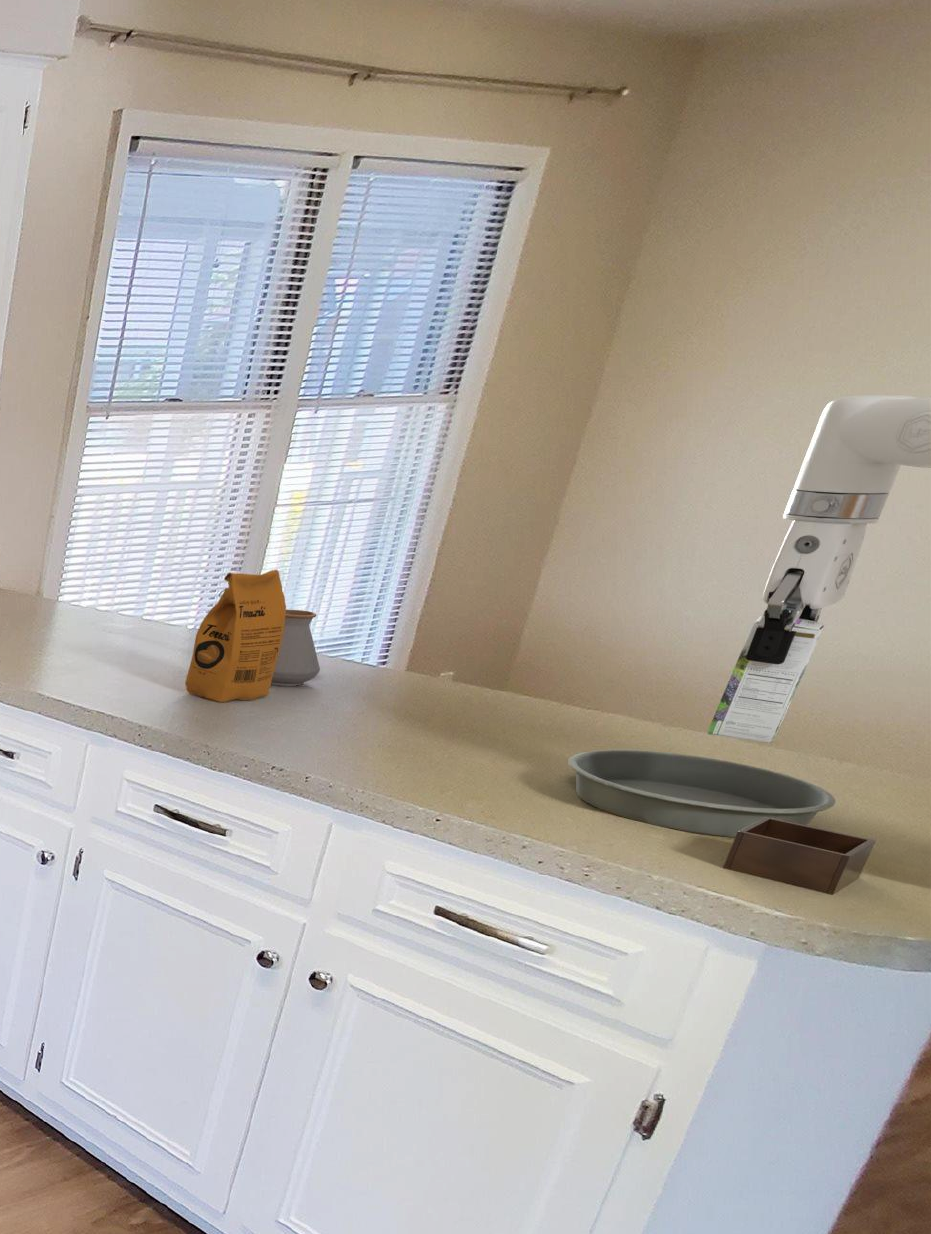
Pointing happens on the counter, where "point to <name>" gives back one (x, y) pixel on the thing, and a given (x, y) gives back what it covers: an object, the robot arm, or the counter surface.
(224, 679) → the coffee package
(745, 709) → the syrup box
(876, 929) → the counter surface
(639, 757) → the cake pan
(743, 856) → the caddy
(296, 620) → the coffee pot
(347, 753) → the counter surface
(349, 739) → the counter surface
